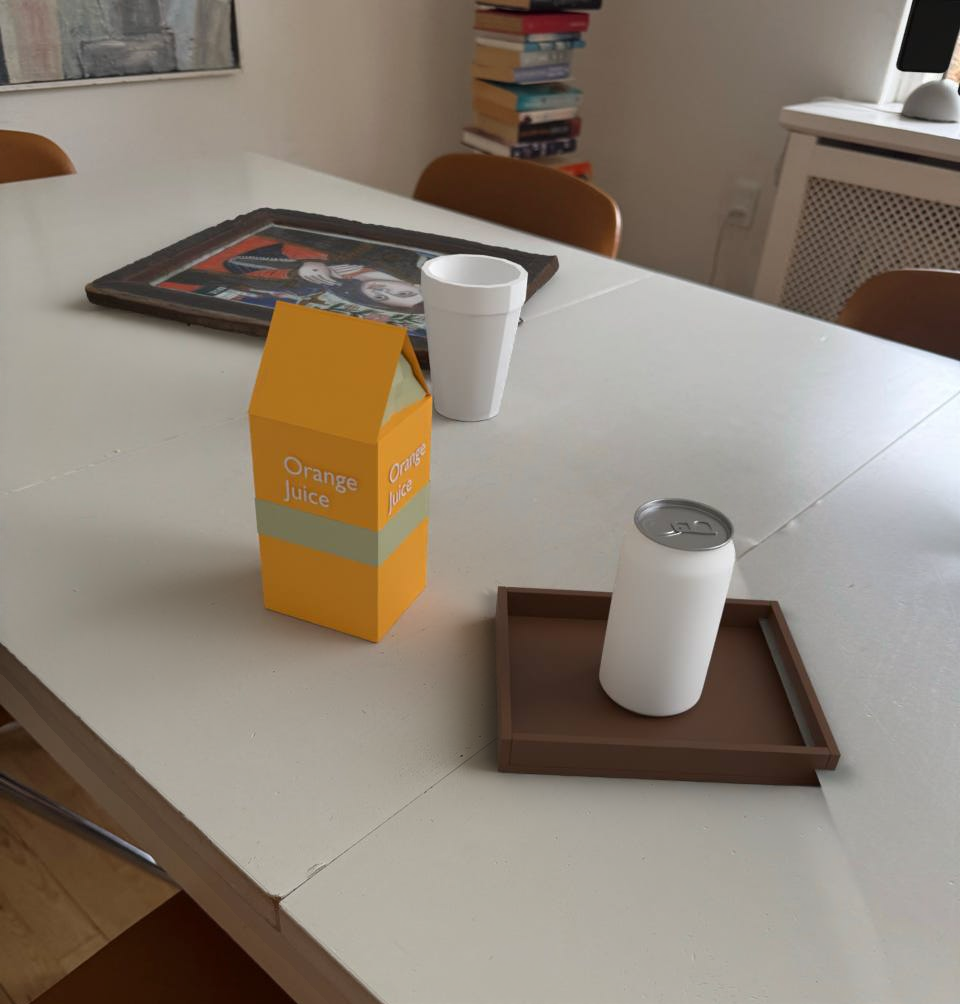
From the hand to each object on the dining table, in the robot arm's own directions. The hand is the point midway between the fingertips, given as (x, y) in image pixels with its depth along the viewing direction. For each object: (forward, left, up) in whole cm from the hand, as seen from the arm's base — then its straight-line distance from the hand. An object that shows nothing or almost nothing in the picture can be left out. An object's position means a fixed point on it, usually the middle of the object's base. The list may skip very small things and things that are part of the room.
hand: (950, 84), depth 59 cm
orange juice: (+35, +10, -33) cm, 49 cm away
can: (+15, +19, -32) cm, 40 cm away
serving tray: (+15, +19, -33) cm, 41 cm away
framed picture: (+42, -54, -33) cm, 76 cm away
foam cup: (+27, -23, -33) cm, 49 cm away
